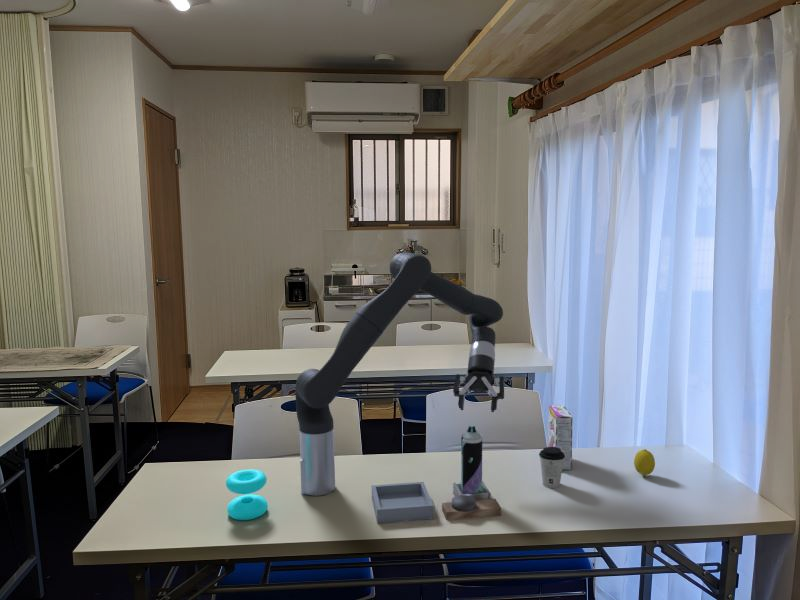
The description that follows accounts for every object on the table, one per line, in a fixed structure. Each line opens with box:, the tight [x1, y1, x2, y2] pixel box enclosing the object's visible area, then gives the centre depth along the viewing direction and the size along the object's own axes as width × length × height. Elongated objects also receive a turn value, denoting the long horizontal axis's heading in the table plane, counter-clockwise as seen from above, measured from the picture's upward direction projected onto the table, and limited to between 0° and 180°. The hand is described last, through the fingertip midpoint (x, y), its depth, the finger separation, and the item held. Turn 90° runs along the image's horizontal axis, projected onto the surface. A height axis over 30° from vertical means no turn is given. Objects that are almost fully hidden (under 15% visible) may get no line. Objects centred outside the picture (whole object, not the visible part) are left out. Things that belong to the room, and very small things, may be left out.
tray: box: [371, 481, 435, 524], centre depth 162 cm, size 14×14×4 cm
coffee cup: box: [538, 446, 565, 489], centre depth 174 cm, size 7×7×10 cm
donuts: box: [225, 468, 269, 521], centre depth 160 cm, size 10×10×10 cm
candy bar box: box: [547, 404, 574, 471], centre depth 188 cm, size 11×5×16 cm, turn 179°
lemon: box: [633, 448, 656, 477], centre depth 179 cm, size 6×6×8 cm
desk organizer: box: [441, 480, 502, 521], centre depth 163 cm, size 14×15×4 cm
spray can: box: [460, 425, 483, 495], centre depth 165 cm, size 6×6×20 cm
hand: (477, 410), depth 175 cm, fingers open, 8 cm apart
